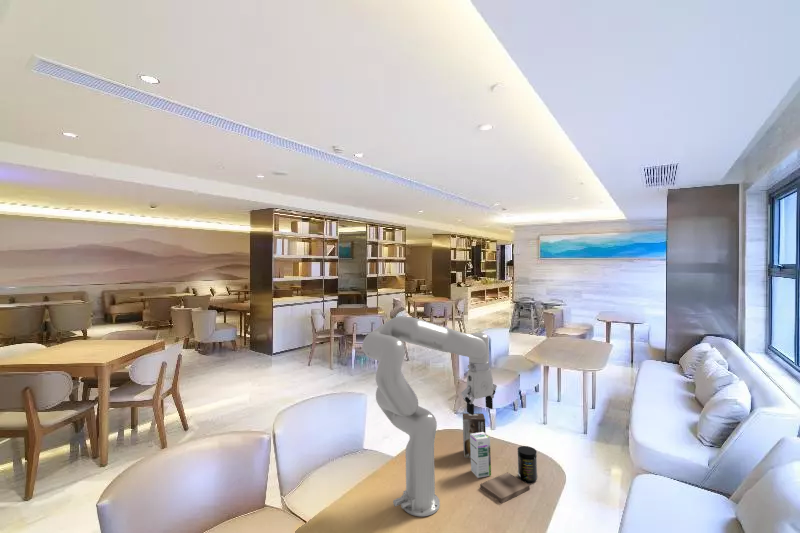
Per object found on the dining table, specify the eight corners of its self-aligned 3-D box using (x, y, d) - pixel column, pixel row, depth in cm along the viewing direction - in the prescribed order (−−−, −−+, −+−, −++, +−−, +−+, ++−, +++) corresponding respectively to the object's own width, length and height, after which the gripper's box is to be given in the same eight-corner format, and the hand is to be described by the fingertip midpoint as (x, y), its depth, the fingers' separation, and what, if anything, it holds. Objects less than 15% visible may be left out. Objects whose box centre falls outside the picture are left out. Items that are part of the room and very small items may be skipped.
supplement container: (540, 483, 131) (540, 454, 131) (523, 484, 130) (522, 455, 130) (531, 472, 138) (531, 445, 138) (514, 474, 137) (514, 446, 137)
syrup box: (477, 478, 134) (476, 439, 135) (470, 470, 140) (469, 432, 140) (491, 476, 136) (490, 437, 136) (483, 468, 142) (483, 430, 142)
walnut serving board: (501, 503, 120) (501, 498, 120) (480, 488, 128) (480, 483, 128) (529, 489, 127) (529, 485, 127) (507, 476, 136) (507, 472, 136)
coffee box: (484, 450, 155) (483, 413, 156) (486, 458, 149) (485, 419, 149) (463, 450, 156) (462, 412, 156) (464, 457, 150) (463, 418, 150)
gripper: (468, 371, 131) (469, 419, 131) (502, 364, 140) (503, 409, 140) (455, 367, 138) (456, 412, 137) (488, 360, 147) (489, 403, 146)
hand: (479, 410), depth 139 cm, fingers open, 9 cm apart
